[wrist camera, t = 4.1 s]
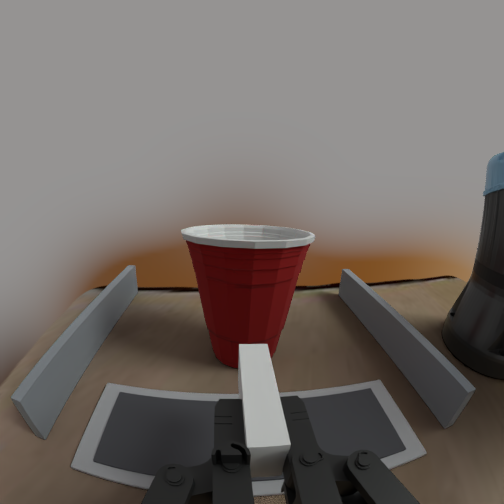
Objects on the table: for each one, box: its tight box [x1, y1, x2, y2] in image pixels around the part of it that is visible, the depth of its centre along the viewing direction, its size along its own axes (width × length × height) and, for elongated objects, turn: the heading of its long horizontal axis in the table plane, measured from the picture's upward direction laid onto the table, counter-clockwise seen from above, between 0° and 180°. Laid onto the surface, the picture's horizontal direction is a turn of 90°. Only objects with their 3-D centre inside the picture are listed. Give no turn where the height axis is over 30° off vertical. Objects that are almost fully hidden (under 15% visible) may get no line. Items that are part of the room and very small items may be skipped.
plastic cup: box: [181, 225, 315, 368], centre depth 23 cm, size 11×11×12 cm
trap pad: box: [71, 380, 427, 497], centre depth 14 cm, size 23×9×1 cm, turn 94°
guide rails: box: [11, 266, 476, 440], centre depth 24 cm, size 31×26×4 cm
